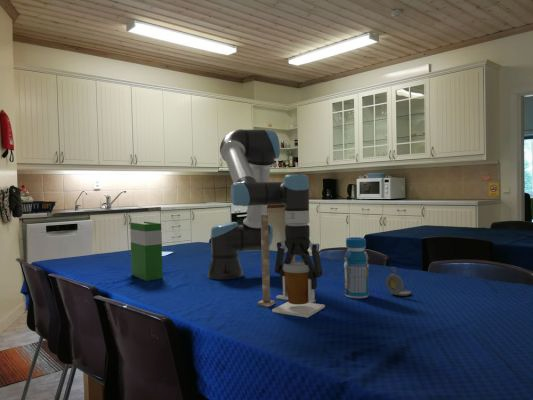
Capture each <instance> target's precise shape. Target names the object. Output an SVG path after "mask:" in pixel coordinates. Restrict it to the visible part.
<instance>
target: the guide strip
mask: <svg viewBox="0 0 533 400" xmlns="http://www.w3.org/2000/svg"><path fill="white" fill-rule="evenodd" d="M275 298H276V299H277V300H282V301H283V300H284V301H288V296H287V297H283V294H277V295H276V296H275ZM316 301H317V299H313V300H311V301H309V302H308V303H316Z"/></svg>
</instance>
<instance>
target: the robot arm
mask: <svg viewBox="0 0 533 400" xmlns="http://www.w3.org/2000/svg"><path fill="white" fill-rule="evenodd" d="M219 154H220V156H221V158H222V160H223V161H224V162H226V165H227V168H228V172H229V174H230V177H231V180H232V182H233V183H232V184H231V186H230V200H231V203H232V205H233V206H237V207H239V206H240V207H247V209H246V210H247V211H246V217H245V218H244V219H243V221H242V224H238V222H237V221H231V222H223V223H219V224H215V225H213V226H212V227H211V230H210V239H211V243H210V244H211V261H210V264H209V266H208V267H209V268H208V271H207V278H209V279H212V280H219V281H221V280H233V279H239V278H241V277H243V276H244V275H243V273H244V272H243V269H242V265H241V262H240V259H239V252H252V251H253V252H254V251H258V252H260V251H262V244H261V216H262V215H267V212H268V206H274V205H275V206H279V205H280V206H281V205H282V206H283V205H284V223H285V224H286V225H285V226H284V237H285V240H284V241H278V242H277V243H276V248H277V251H276V259H275V267H274V273H275V274H278V275H279V276H280V285H281V286H282V295H283V297H287V296H288V295H287V288H286V281H285V274H284V270H283V268H282V267H283V266H284V263H285V264H289V263H291V261H292V258H293V256H294V255H295V256H296V255H297V256H300V257H301V259H302V261H304V263H305V265H308V267H309V269H310V270H309V272H308V273H309V275H310V278H309V279H308V300H309V301H311V300H316V299H315V296H316V295H315V290H316V289H317V288H318V282H317V281H318V278H320V277H322V276H323V274H324V273H323V269H322V263H321V262H322V261H321V256H320V252H319V251H320V244H319V243H314V242H311V240H310V233H311V232H310V231H311V230H310V225H309V223H310V185H309V176H308V175H307V174H305V173H304V174H301V173H300V174H297V173H296V174H286V175H284V178H283V181H270V174H271V167H272V166H273V165H275V160H276V159H279V158H280V155H281V144H280V140H279V136H278V134H277V132H276V131H274V130H270V129H264V128H263V129H242V128H241V129H235V130H231V132H229V133H227V134H226V135H225V136H224V137H223V138H222V140H221V142H220V146H219ZM268 227H269V248H271V245H272V243H273V239H274V233H273V232H274V229H273V226H272V224H270V220H268ZM285 248H286V249H287V251H286V254H285ZM309 249H310V251H311V256H310V252H309ZM284 256H285V258H284ZM311 257H312V259H311Z"/></svg>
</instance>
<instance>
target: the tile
mask: <svg viewBox="0 0 533 400" xmlns="http://www.w3.org/2000/svg"><path fill="white" fill-rule="evenodd" d="M325 307H326V305H325V304H322V303H321V304H320V303H316V302H315V303H306V304H300V305H297V304H291V303H289V302H288V301H287V302H285V303H283V304H280V305H279V306H276V307H274V308H272V309H271V311H272V313H277V314H283V315H290V316H296V317H303V318H309V317H311V316H313V315H315V314H317V312H319V311H321V310H322V309H324V308H325Z"/></svg>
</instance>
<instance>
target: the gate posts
mask: <svg viewBox="0 0 533 400" xmlns="http://www.w3.org/2000/svg"><path fill="white" fill-rule="evenodd" d="M268 221H269V215H262V216H261V244H262V250H261V274H262V275H261V276H262V277H261V278H262V280H261V282H262V283H261V286H262V300H259V301H257V305H258V306H260V307H261V306H262V307H265V308H266V307H268V308H269V307H272V306H273V305H275V304H276V300H272V299H271V288H270V287H271V285H270V284H271V283H270V282H271V280H270V279H271V278H270V273H271V272H270V247H269V227H268ZM292 261H296V254H295V255H294V256H293V258H292Z"/></svg>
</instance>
